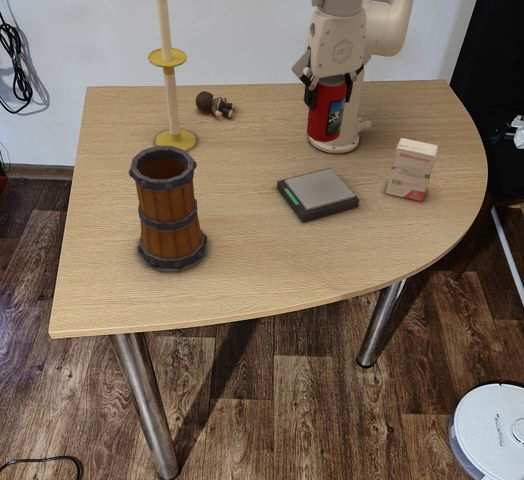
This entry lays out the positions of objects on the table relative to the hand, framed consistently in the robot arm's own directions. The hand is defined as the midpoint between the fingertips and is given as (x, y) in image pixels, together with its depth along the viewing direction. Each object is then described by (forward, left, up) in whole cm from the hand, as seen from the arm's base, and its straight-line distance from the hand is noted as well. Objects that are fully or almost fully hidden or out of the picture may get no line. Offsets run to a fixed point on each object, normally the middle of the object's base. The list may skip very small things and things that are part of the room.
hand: (327, 102), depth 106 cm
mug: (+34, +1, -23) cm, 41 cm away
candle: (+21, -33, -23) cm, 46 cm away
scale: (-1, 0, -23) cm, 23 cm away
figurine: (+7, -42, -23) cm, 49 cm away
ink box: (-21, +6, -23) cm, 32 cm away
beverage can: (0, 0, -7) cm, 7 cm away
